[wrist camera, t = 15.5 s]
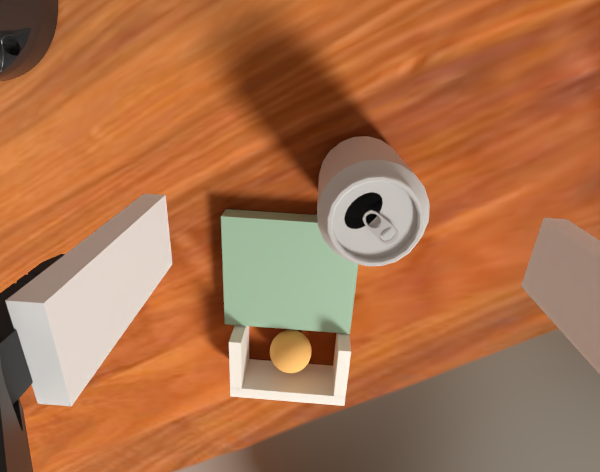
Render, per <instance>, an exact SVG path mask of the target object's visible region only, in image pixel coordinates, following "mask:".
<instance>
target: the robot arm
mask: <svg viewBox="0 0 600 472" xmlns="http://www.w3.org/2000/svg"><path fill="white" fill-rule="evenodd" d="M57 16H58V0H0V81H5V80H10V79H13V78H16V77H19V76H21V75H23V74H25V73H26V72H28V71H29V70H31V69H32V68H33V67H34V66H35V65H37V64H38V63H39V61H40V60H41V59H42V58H43V56H44V55H45V53H46V52H47V50H48V48H49V46H50V44H51V42H52V39H53V36H54V33H55V29H56V24H57ZM171 265H172V255H171V245H170V235H169V225H168V215H167V205H166V195H157V194H143V195H141V196H140V197H139V198H138V199H136V200H135V201H134V202H132V203H131V204H130V205H129V206H127V207H126V208H125V209H123V210H122V211H121V212H119V213H118V214H117V215H116V216H114V217H113V218H112V219H110V220H109V221H108V222H106V223H105V224H104V225H103V226H101V227H100V228H99V229H97V230H96V231H95V232H94V233H92V234H91V235H90V236H88V237H87V238H86V239H84V240H83V241H82V242H81V243H79V244H78V245H77V246H75V247H74V248H73V249H72V250H70V251H69V252H68V253H66V254H60V255H58V256H56V257H53V258H51V259H49V260H47V261H44V262H42V263H41V264H39V265H38V266H37V267H35V268H34V269H33V270H31V271H30V272H28V275H24V276H23V277H22V278H20V279H19V280H18V281H17V283H14V284H12V285H11V286H9V287H8V288H7V289H5V290H4V291H3V292H1V293H0V472H33V468H32V462H31V456H30V450H29V444H28V438H27V432H26V425H25V419H24V413H23V408H22V405H21V402H20V400H19V398H20V397H21V395H22V394H23V393H24V392H25V391H26V390H27V389H28V387H29V386H30V385H31V384H32V387H33V390H34V393H35V396H36V399H37V402H38V404H49V405H63V406H72V405H73V403H74V402H75V401H76V399H77V398H78V396H79V395H80V394H81V392H82V391H83V389H84V388H85V386H86V385H87V384H88V382H89V381H90V379H91V378H92V377H93V375H94V374H95V372H96V371H97V370H98V368H99V367H100V365H101V364H102V363H103V361H104V360H105V358H106V357H107V356H108V354H109V353H110V351H111V350H112V348H113V347H114V346H115V344H116V343H117V341H118V340H119V339H120V337H121V336H122V334H123V333H124V332H125V330H126V329H127V327H128V326H129V325H130V323H131V322H132V320H133V319H134V318H135V316H136V315H137V313H138V312H139V310H140V309H141V308H142V306H143V305H144V303H145V302H146V301H147V299H148V298H149V296H150V295H151V294H152V292H153V291H154V289H155V288H156V287H157V285H158V284H159V282H160V281H161V279H162V278H163V277H164V275H165V274H166V272H167V271H168V270H169V268H170V267H171ZM521 287H522V288H523V289H524V290H525V291H526V292H527V294H528V295H529V296H530V297H531V298H532V299H533V300H534V301H535V303H536V304H537V305H538V306H539V307H540V308H541V309H542V310H543V311H544V313H545V314H546V315H547V316H548V317H549V318H550V319H551V320H552V322H553V323H554V324H555V325H556V326H557V327H558V328H559V329H560V330H561V332H562V333H563V334H564V335H565V336H566V337H567V338H568V339H569V341H570V342H571V343H572V344H573V345H574V346H575V347H576V348H577V349H578V351H579V352H580V353H581V354H582V355H583V356H584V357H585V358H586V359H587V360H588V362H589V363H590V364H591V365H592V366H593V367H594V368H595V369H596V371H597V372H598V373H599V374H600V241H599V240H598V239H596V238H595V237H593V236H592V235H590V234H589V233H587V232H585V231H584V230H582V229H581V228H579V227H578V226H576V225H575V224H573V223H571V222H570V221H568V220H567V219H555V218H544V219H543V222H542V225H541V228H540V231H539V234H538V237H537V240H536V243H535V246H534V249H533V252H532V255H531V258H530V261H529V264H528V267H527V270H526V273H525V276H524V279H523V282H522V285H521Z"/></svg>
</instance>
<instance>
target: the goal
mask: <svg viewBox="0 0 600 472" xmlns="http://www.w3.org/2000/svg"><path fill="white" fill-rule="evenodd" d="M350 356H351V345H350V334H346V333H336V341H335V351H334V361H333V366H331V365H319V364H307V365H306V367H305V368H303V369H302V370H301V371H299V372H296V373H285V372H282V371H281V370H279V369H278V368H277V367H276V366H275V365H274V364H273V362H272V361H268V360H256V359H249V326H241V325H235V326H234V329H233V332H232V334H231V337H230V340H229V364H230V396H233V397H245V398H257V399H269V400H281V401H293V402H305V403H317V404H329V405H341V406H344V404H345V396H346V388H347V380H348V372H349V364H350Z"/></svg>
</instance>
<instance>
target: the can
mask: <svg viewBox="0 0 600 472" xmlns="http://www.w3.org/2000/svg"><path fill="white" fill-rule="evenodd" d="M429 206H430V204H429V200H428V197H427V193H426V190H425V187H424V186H423V185H422V183H421V182H420V181H419V179H418V178H417V177H416V175H415V174H414V173H413V172H412V170H411V169H410V168H409V167H408V166H407V165H406V163H405V162H404V161H403V160H402V159H401V158H400V156H399V155H398V154H397V153H396V152H395V150H394V149H393V148H392V147H391V146H389V145H388V144H386V143H385V142H383V141H382V140H380V139H376V138H373V137H369V136H361V137H352V138H350V139H347V140H345V141H342V142H340V143H339V144H338V145H336V146H335V147H334V148H333V149H331V150H330V151H329V153H328V154H327V156H326V157H325V159H324V160H323V162H322V165H321V169H320V173H319V183H318V200H317V219H318V227H319V230H320V232H321V235H322V237H323V239H324V241H325V242H326V243H327V244H328V246H329V247H330V248H331V249H332V250H333V251H334V252H335V253H336V254H338V255H340V256H341V257H343V258H345V259H346V260H348V261H351V262H353V263H356V264H361V265H365V266H383V265H386V264H389V263H392V262H396V261H398V260H399V259H401V258H402V257H404V256H405V255H407V254H408V253H410V251H411V250H412V249H413V248H414V247H415V245H416V244H417V243H418V242H419V240H420V238H421V237H422V236H423V233H424V231H425V228H426V226H427V223H428V221H429Z"/></svg>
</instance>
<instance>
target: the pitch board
mask: <svg viewBox="0 0 600 472" xmlns="http://www.w3.org/2000/svg"><path fill="white" fill-rule="evenodd" d="M221 235H222V262H223V290H224V318H225V324H228V325H241V326H254V327H268V328H281V329H294V330H307V331H320V332H333V333H346V334H350V328H351V320H352V312H353V303H354V295H355V287H356V279H357V270H358V264H356V263H353V262H351V261H348V260H346V259H345V258H343V257H341V256H340V255H338V254H336V253H335V252H334V251H333V250H332V249H331V248H330V247H329V246H328V244H327V243H326V242H325V241H324V239H323V237H322V235H321V232H320V230H319V227H318V219H317V215H309V214H294V213H278V212H263V211H248V210H233V209H226V210H225V211H224V213H223V214H222V215H221Z"/></svg>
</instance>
